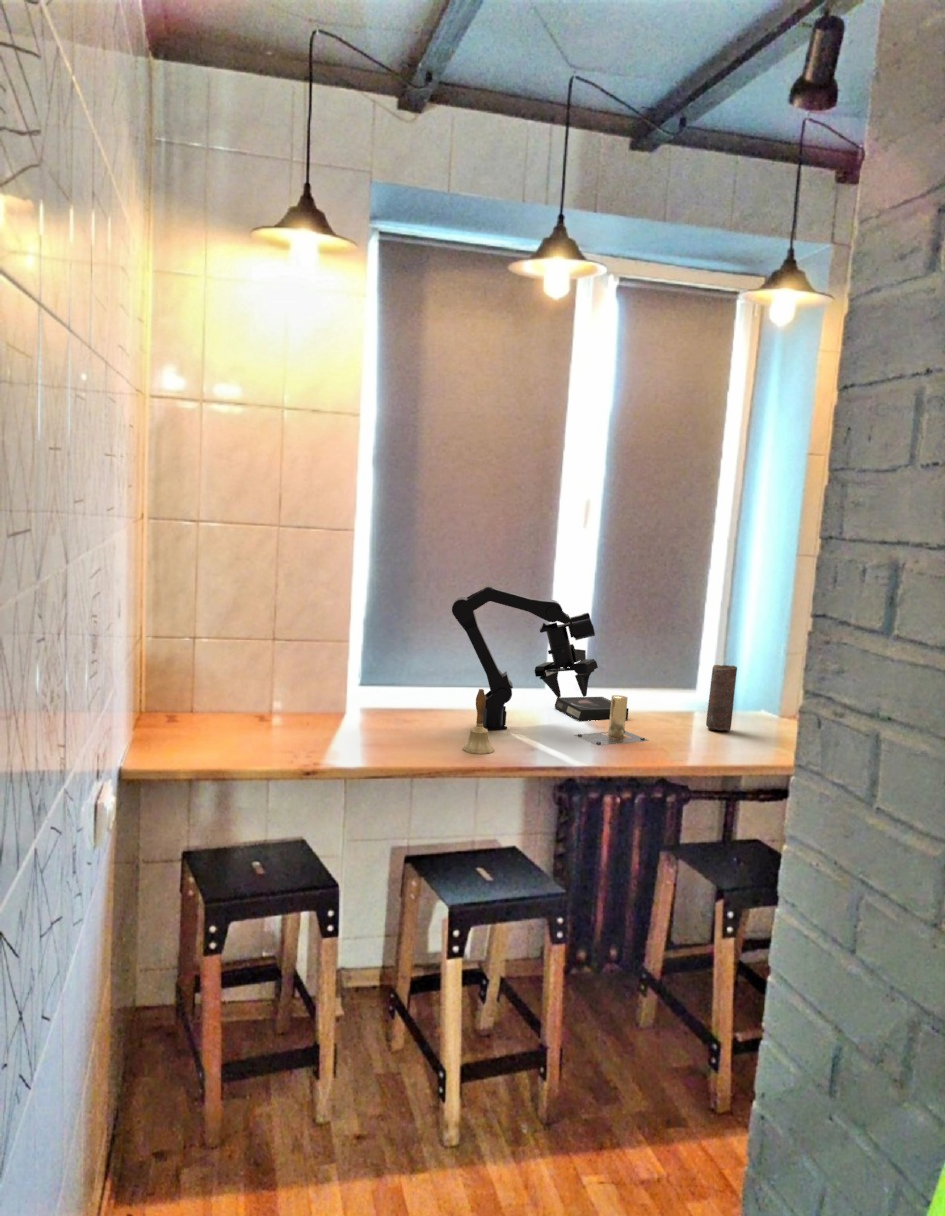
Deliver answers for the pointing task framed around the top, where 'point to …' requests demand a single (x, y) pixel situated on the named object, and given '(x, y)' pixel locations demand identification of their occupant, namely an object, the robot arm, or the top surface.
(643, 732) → the top surface
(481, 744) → the hand bell
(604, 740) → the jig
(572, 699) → the portable cd player
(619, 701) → the disc
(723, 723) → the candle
